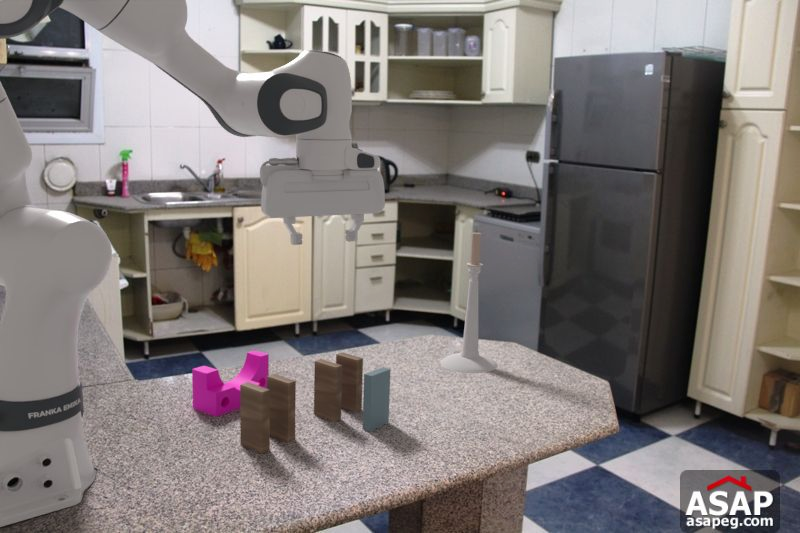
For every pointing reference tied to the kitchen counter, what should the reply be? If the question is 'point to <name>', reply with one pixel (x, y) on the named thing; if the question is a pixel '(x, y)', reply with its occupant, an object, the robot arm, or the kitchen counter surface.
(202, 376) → the toy block
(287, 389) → the domino
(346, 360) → the domino
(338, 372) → the domino
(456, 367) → the candlestick
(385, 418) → the domino
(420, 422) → the kitchen counter surface
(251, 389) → the domino
